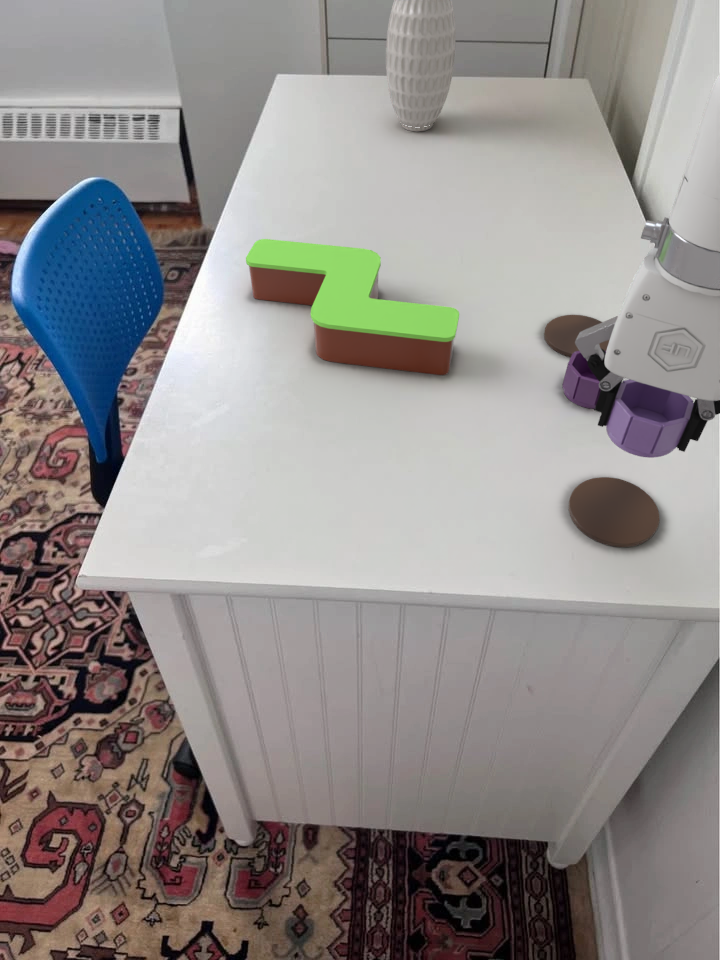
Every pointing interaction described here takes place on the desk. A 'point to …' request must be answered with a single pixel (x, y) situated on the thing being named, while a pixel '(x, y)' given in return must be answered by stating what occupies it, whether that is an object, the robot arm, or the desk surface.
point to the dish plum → (581, 382)
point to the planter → (353, 307)
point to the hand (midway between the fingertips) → (643, 427)
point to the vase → (420, 59)
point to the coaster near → (613, 512)
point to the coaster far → (568, 333)
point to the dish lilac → (648, 419)
